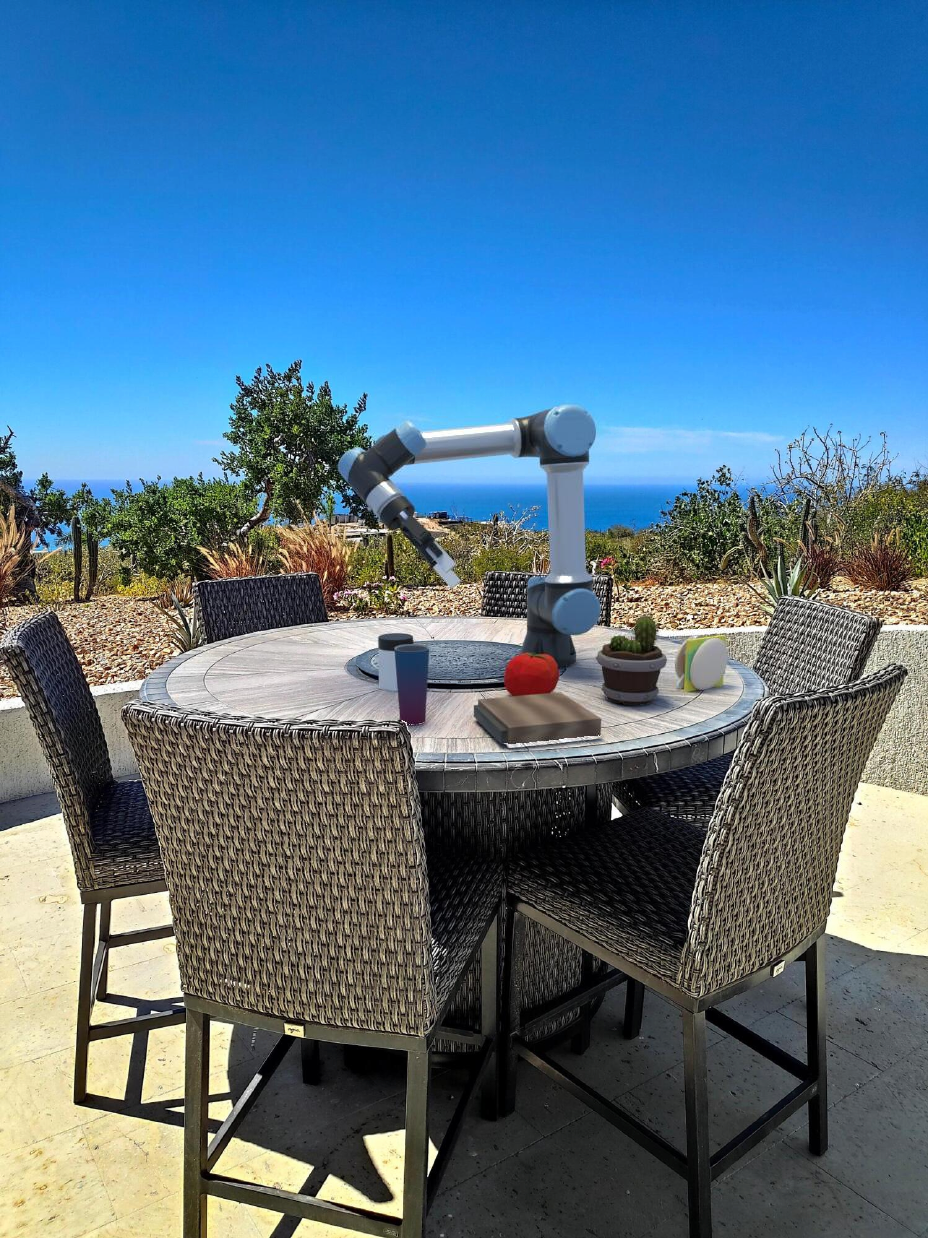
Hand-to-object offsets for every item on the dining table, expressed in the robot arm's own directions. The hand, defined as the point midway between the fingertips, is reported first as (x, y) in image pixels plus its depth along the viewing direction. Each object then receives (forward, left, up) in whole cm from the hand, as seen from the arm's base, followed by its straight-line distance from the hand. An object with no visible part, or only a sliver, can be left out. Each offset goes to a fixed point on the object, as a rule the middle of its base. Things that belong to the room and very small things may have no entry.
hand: (454, 577), depth 152 cm
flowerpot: (-37, +11, -27) cm, 47 cm away
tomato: (-17, +3, -27) cm, 32 cm away
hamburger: (-58, +6, -27) cm, 64 cm away
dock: (-10, +23, -27) cm, 37 cm away
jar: (+10, -14, -27) cm, 32 cm away
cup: (+12, +12, -27) cm, 32 cm away
